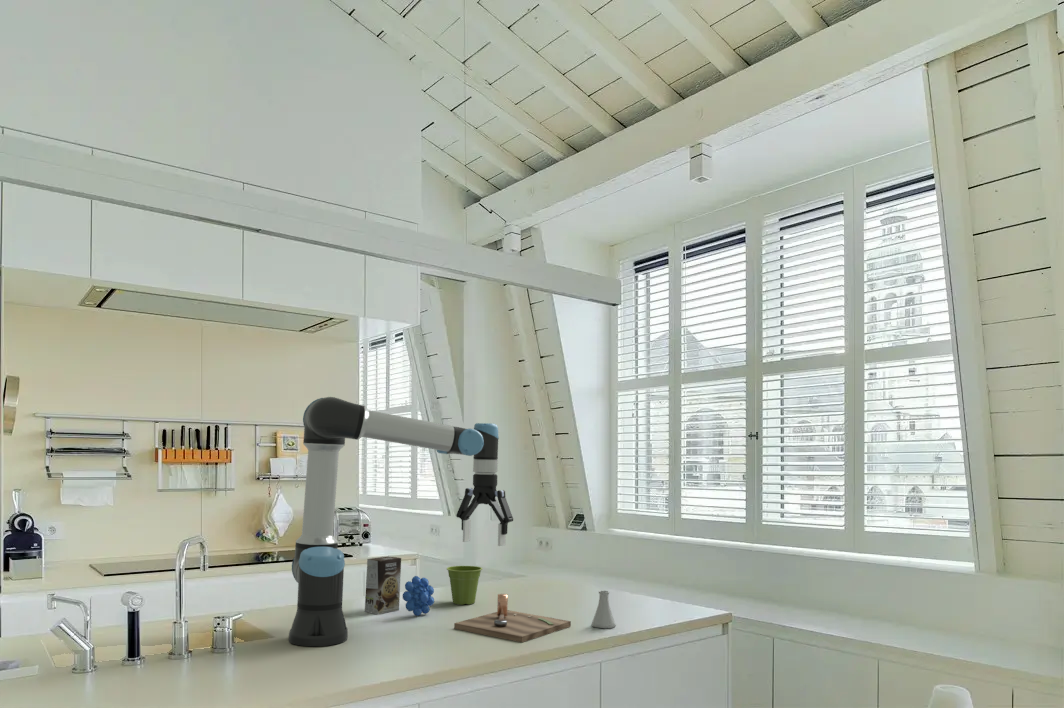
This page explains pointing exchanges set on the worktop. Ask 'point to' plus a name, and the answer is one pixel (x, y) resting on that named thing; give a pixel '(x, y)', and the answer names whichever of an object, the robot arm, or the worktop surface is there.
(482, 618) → the dial board
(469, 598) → the plant pot
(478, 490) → the robot arm
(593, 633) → the worktop surface
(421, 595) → the grapes
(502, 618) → the crank handle
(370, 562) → the coffee box
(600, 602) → the flask
